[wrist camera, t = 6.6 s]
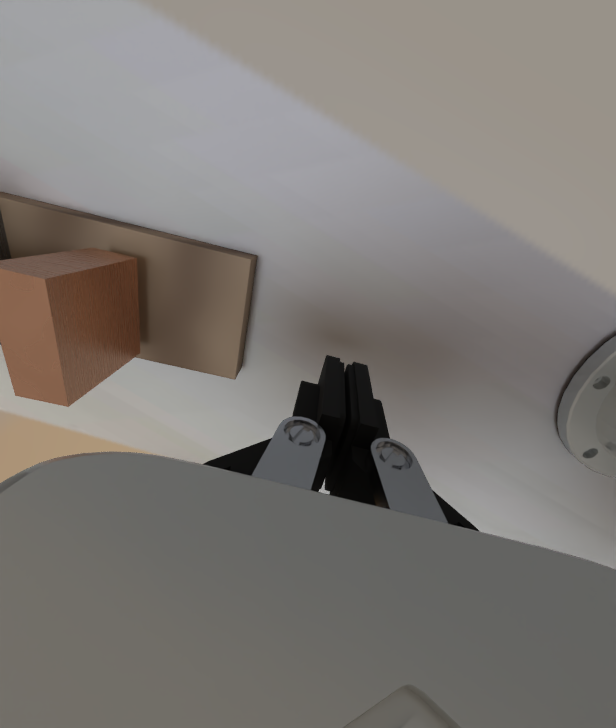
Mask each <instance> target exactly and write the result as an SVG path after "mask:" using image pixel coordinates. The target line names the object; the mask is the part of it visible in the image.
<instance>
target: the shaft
mask: <svg viewBox="0 0 616 728" xmlns="http://www.w3.org/2000/svg"><path fill="white" fill-rule="evenodd" d="M0 343H1V346H2V350H3V353H4V357H5V360H6V364H7V367H8V371H9V374H10V378H11V382H12V385H13V389H14V392H15V396H20V397H25V398H29V399H34V400H39V401H44V402H48V403H53V404H58V405H63V406H67V407H69V406H70V405H71V404H73V403H74V402H75V401H77V400H78V399H79V398H81V397H82V396H83V395H85V394H86V393H87V392H89V391H90V390H91V389H93V388H94V387H95V386H97V385H98V384H99V383H101V382H102V381H103V380H105V379H106V378H107V377H109V376H110V375H111V374H113V373H114V372H116V371H117V370H118V369H120V368H121V367H122V366H124V365H125V364H126V363H128V362H129V361H130V360H132V359H133V358H134V357H136V356H137V355H138V354H140V327H139V302H138V276H137V258H134V257H130V256H126V255H122V254H118V253H114V252H110V251H106V250H101V249H97V248H86V249H79V250H71V251H64V252H57V253H50V254H43V255H36V256H28V257H21V258H14V259H7V260H0Z"/></svg>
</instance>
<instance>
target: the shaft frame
mask: <svg viewBox="0 0 616 728" xmlns="http://www.w3.org/2000/svg"><path fill="white" fill-rule="evenodd" d="M86 248H97V249H101V250H106V251H110V252H114V253H118V254H122V255H126V256H130V257H134V258H137V276H138V302H139V327H140V354H138V355H137V356H136V357H137V358H141V359H145V360H150V361H154V362H159V363H163V364H168V365H172V366H177V367H181V368H186V369H190V370H195V371H199V372H204V373H208V374H212V375H217V376H221V377H226V378H230V379H236V377H237V375H238V373H239V371H240V369H241V367H242V360H243V353H244V346H245V339H246V332H247V325H248V318H249V311H250V304H251V297H252V290H253V283H254V276H255V269H256V262H257V256H256V255H252V254H248V253H244V252H240V251H236V250H232V249H228V248H224V247H220V246H216V245H212V244H208V243H204V242H200V241H196V240H192V239H188V238H184V237H180V236H176V235H172V234H168V233H164V232H160V231H156V230H152V229H148V228H144V227H140V226H136V225H132V224H128V223H124V222H120V221H116V220H112V219H108V218H104V217H100V216H96V215H92V214H88V213H84V212H80V211H76V210H72V209H68V208H64V207H60V206H56V205H52V204H48V203H44V202H40V201H36V200H32V199H28V198H24V197H20V196H16V195H12V194H8V193H4V192H0V260H7V259H14V258H21V257H28V256H36V255H43V254H50V253H57V252H64V251H71V250H79V249H86ZM0 345H1V343H0Z"/></svg>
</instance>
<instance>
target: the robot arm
mask: <svg viewBox="0 0 616 728" xmlns="http://www.w3.org/2000/svg"><path fill="white" fill-rule="evenodd" d="M557 425H558V431H559V436H560V438H561V440H562V442H563V443H564V445H565V447H566V448H567V449H568V450H569V451H570V452H571V453H572V454H573V455H574V456H575V457H576V459H577V460H578V461H580V462H581V463H582V464H584V465H585V466H586V467H588V468H589V469H591V470H593V471H595V472H598V473H600V474H602V475H606V476H610V477H615V478H616V336H614V337H613V338H611V339H610V340H609V341H607V342H606V343H605V344H604V345H602V346H601V347H600V348H599V349H598V350H597V351H596V352H595V353H594V354H593V355H592V356H591V357H589V358H588V359H587V361H586V362H585V363H584V364H583V365H582V367H581V368H580V369H579V370H578V372H577V373H576V374H575V375H574V377H573V378H572V380H571V382H570V383H569V385H568V387H567V389H566V390H565V392H564V394H563V397H562V400H561V403H560V406H559V409H558V420H557ZM324 479H325V490H327V491H330V495H328V494H324V493H320V492H318V491H319V489H321V487H322V485H323V482H324ZM0 728H616V570H615V569H612V568H609V567H607V566H604V565H601V564H598V563H595V562H592V561H590V560H586V559H583V558H579V557H576V556H572V555H568V554H565V553H561V552H558V551H554V550H551V549H547V548H543V547H539V546H535V545H531V544H527V543H523V542H519V541H515V540H511V539H507V538H503V537H499V536H495V535H491V534H487V533H483V532H480V531H479V530H478V529H477V528H476V527H475V526H473V525H472V524H471V523H470V522H469V521H468V520H466V519H465V518H464V517H463V516H462V515H461V514H459V513H458V512H457V511H456V510H455V509H454V508H452V507H451V506H450V505H449V504H448V503H447V502H445V501H444V500H443V499H442V498H441V497H440V496H438V495H437V494H436V493H435V492H434V491H433V490H432V489H431V487H430V485H429V483H428V481H427V479H426V477H425V475H424V473H423V471H422V469H421V467H420V465H419V463H418V461H417V459H416V457H415V456H414V454H413V453H412V451H411V450H409V449H408V448H407V447H406V446H405V445H403V444H402V443H400V442H398V441H396V440H393V439H390V437H389V433H388V428H387V424H386V420H385V415H384V411H383V406H382V403H381V401H380V400H377V399H374V398H373V393H372V388H371V382H370V377H369V372H368V366H367V365H364V364H360V363H356V362H353V364H352V365H350V364H348V365H347V367H346V370H345V373H344V363H342V362H340V358H336V357H332V356H329V355H327V356H326V358H325V362H324V365H323V368H322V372H321V375H320V379H319V382H318V385H317V384H313V383H309V382H305V381H301V384H300V388H299V392H298V396H297V400H296V404H295V408H294V412H293V416H292V417H289V418H287V419H285V420H283V421H282V422H281V423H280V425H279V427H278V428H277V430H276V432H275V434H274V436H273V437H272V438H271V439H268V440H265V441H263V442H260V443H257V444H254V445H252V446H249V447H246V448H244V449H241V450H238V451H235V452H233V453H230V454H227V455H224V456H222V457H219V458H216V459H214V460H211V461H208V462H206V463H204V464H198V463H193V462H188V461H183V460H179V459H174V458H169V457H164V456H158V455H151V454H143V453H131V452H96V453H82V454H75V455H69V456H63V457H59V458H54V459H51V460H47V461H45V462H41V463H39V464H36V465H34V466H32V467H30V468H27V469H25V470H23V471H21V472H19V473H17V474H16V475H14V476H12V477H10V478H8V479H7V480H5V481H3V482H2V483H0Z"/></svg>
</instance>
